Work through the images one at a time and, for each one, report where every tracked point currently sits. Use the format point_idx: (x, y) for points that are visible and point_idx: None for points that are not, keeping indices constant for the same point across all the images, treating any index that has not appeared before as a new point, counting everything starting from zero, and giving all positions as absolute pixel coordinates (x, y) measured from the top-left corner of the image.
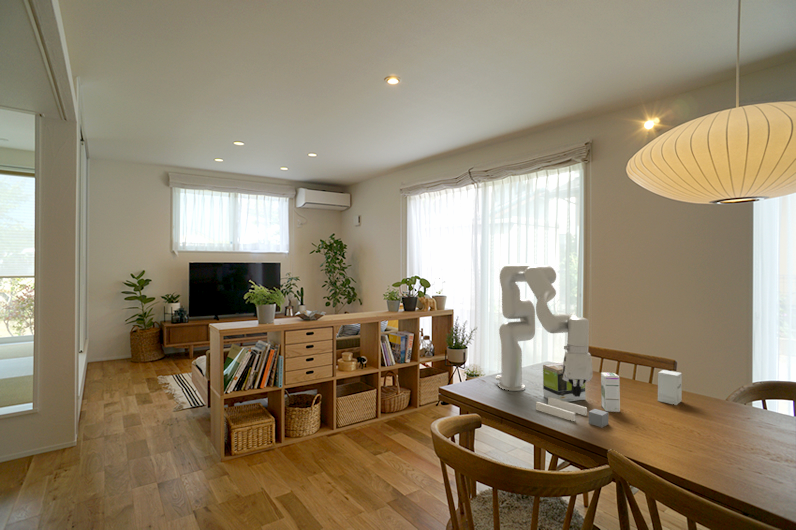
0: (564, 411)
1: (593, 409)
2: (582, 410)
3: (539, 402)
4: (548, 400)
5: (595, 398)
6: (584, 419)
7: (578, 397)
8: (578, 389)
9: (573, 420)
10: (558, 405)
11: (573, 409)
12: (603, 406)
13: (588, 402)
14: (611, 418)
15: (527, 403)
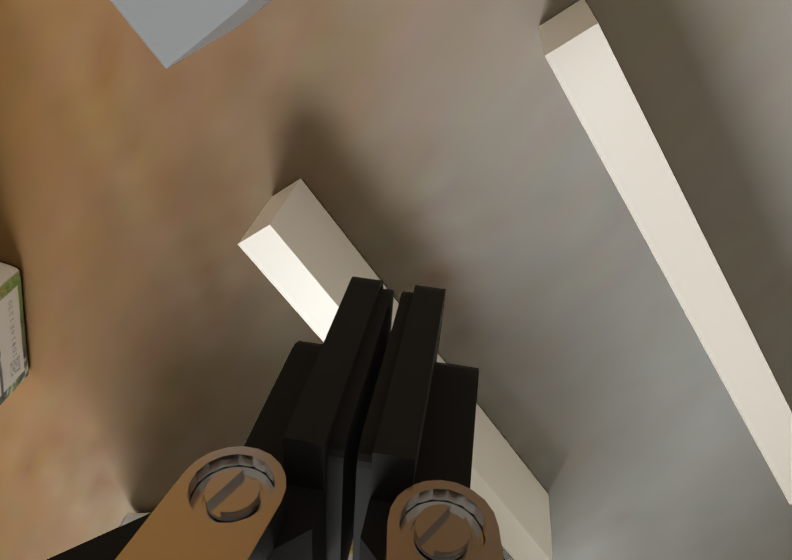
0: (666, 164)
1: (205, 32)
2: (309, 235)
3: (789, 481)
4: (549, 531)
5: (35, 513)
6: (373, 63)
7: None
8: (353, 393)
9: (585, 5)
10: (488, 437)
11: None
12: (9, 331)
13: (123, 464)
14: (5, 57)
15: (746, 552)
